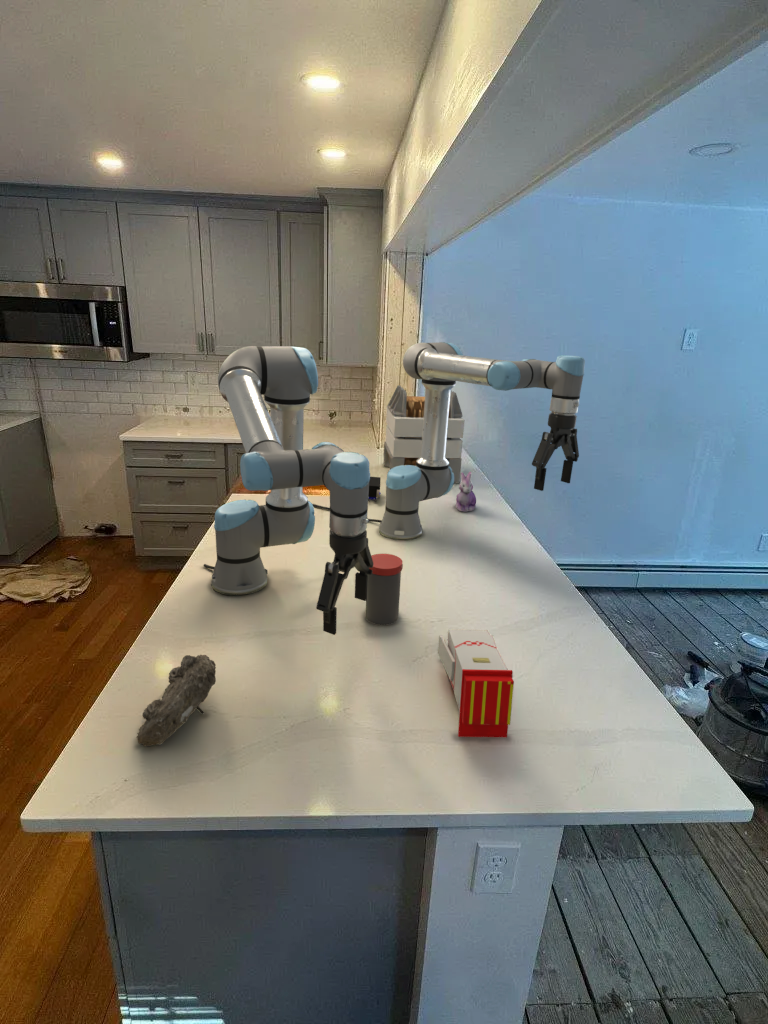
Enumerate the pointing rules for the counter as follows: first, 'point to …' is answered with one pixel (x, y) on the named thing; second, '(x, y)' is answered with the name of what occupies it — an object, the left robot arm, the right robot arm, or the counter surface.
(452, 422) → the white storage crate
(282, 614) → the counter surface
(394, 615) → the jar
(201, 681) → the fossil
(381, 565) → the lid
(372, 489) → the figurine character
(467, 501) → the figurine
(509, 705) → the toy
